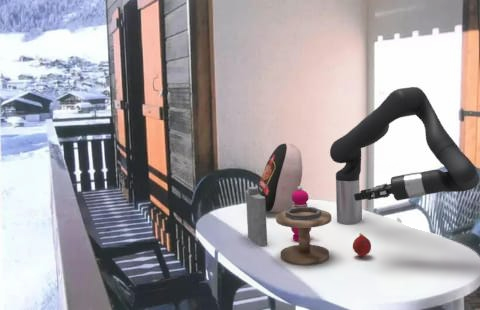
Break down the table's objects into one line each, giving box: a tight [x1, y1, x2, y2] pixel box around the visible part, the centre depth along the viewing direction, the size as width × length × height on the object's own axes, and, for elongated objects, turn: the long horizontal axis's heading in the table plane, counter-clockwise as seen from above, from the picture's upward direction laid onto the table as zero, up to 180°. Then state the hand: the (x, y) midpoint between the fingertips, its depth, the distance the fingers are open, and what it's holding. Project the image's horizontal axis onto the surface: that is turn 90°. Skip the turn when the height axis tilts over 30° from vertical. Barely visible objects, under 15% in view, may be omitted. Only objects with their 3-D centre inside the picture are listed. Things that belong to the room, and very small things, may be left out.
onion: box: [352, 232, 372, 258], centre depth 179 cm, size 6×6×8 cm
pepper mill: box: [290, 185, 312, 243], centre depth 199 cm, size 7×7×20 cm
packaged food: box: [257, 142, 303, 214], centre depth 239 cm, size 22×20×30 cm
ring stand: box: [275, 206, 332, 266], centre depth 181 cm, size 18×18×16 cm
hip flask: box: [245, 186, 268, 248], centre depth 201 cm, size 16×4×20 cm, turn 16°
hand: (357, 195), depth 176 cm, fingers open, 8 cm apart
